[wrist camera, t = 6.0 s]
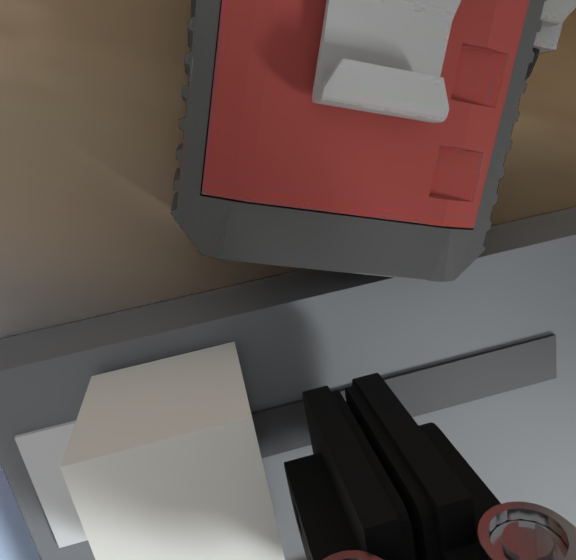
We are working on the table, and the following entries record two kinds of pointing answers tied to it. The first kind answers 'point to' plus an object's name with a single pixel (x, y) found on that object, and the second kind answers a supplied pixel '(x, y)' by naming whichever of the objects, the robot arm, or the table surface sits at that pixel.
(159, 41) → the table surface
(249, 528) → the block
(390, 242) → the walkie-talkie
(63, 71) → the table surface
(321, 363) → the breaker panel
